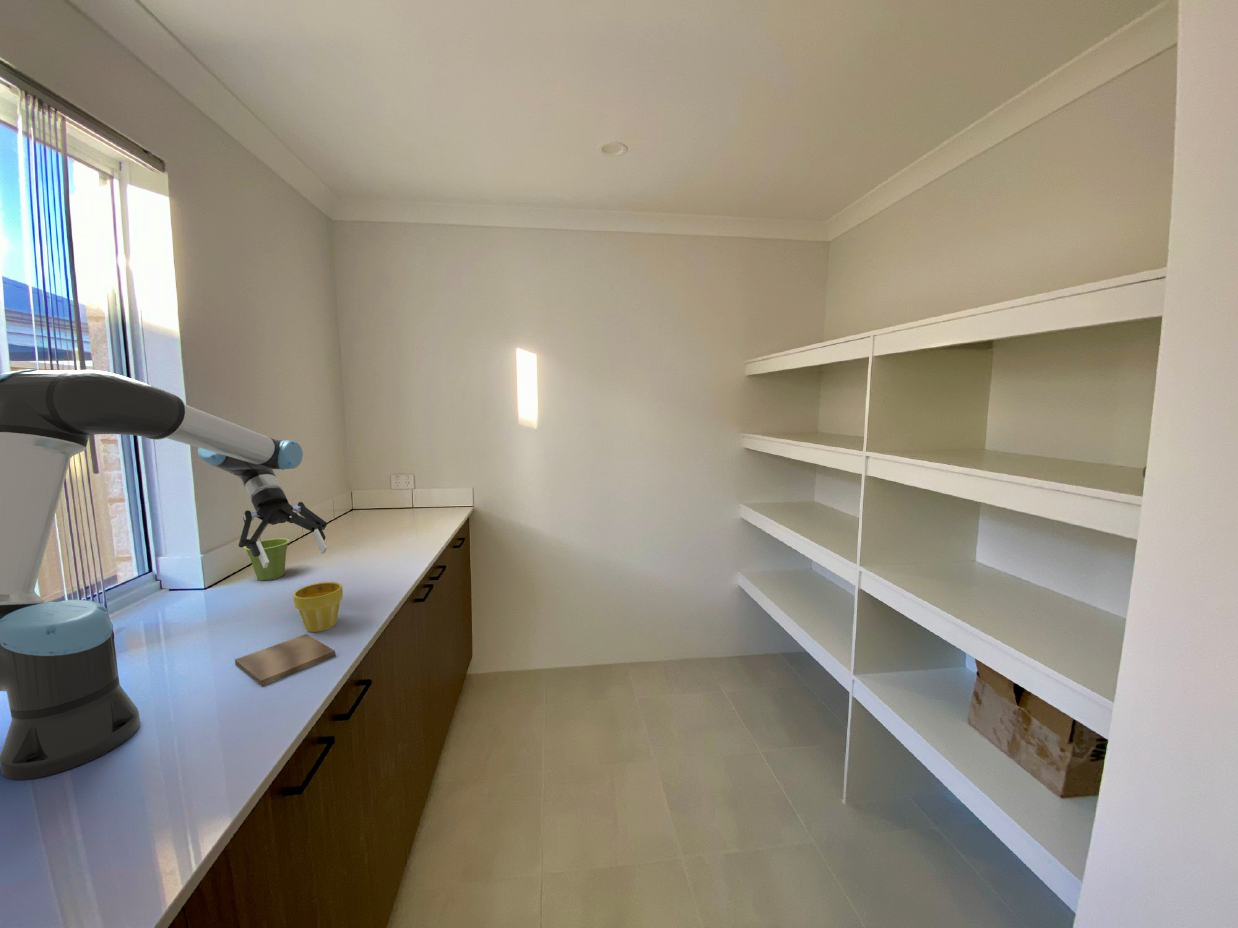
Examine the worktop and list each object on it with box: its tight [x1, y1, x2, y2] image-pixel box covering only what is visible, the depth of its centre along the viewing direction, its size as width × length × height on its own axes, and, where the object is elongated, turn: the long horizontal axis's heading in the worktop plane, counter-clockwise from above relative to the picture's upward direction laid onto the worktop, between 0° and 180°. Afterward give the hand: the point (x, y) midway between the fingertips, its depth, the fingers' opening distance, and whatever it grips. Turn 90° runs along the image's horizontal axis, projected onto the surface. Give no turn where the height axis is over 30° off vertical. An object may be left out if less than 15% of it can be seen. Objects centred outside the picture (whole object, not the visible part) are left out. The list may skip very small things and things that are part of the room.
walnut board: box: [234, 633, 336, 687], centre depth 105 cm, size 14×14×1 cm
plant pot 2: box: [292, 581, 344, 633], centre depth 120 cm, size 10×10×10 cm
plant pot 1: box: [243, 537, 290, 582], centre depth 155 cm, size 12×12×11 cm
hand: (296, 557), depth 125 cm, fingers open, 13 cm apart
